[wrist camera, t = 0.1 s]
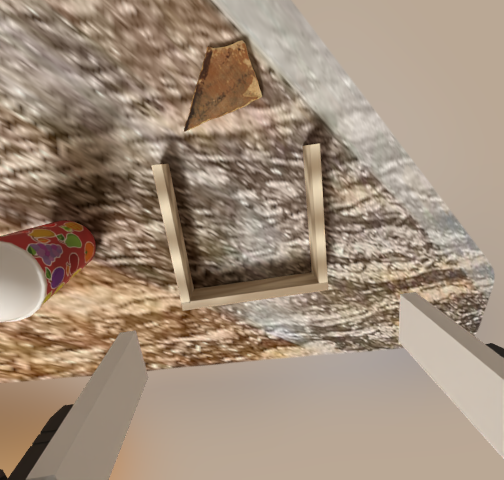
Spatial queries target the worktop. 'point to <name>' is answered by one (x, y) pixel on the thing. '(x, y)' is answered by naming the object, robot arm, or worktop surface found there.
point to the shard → (223, 84)
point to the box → (256, 287)
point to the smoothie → (40, 265)
